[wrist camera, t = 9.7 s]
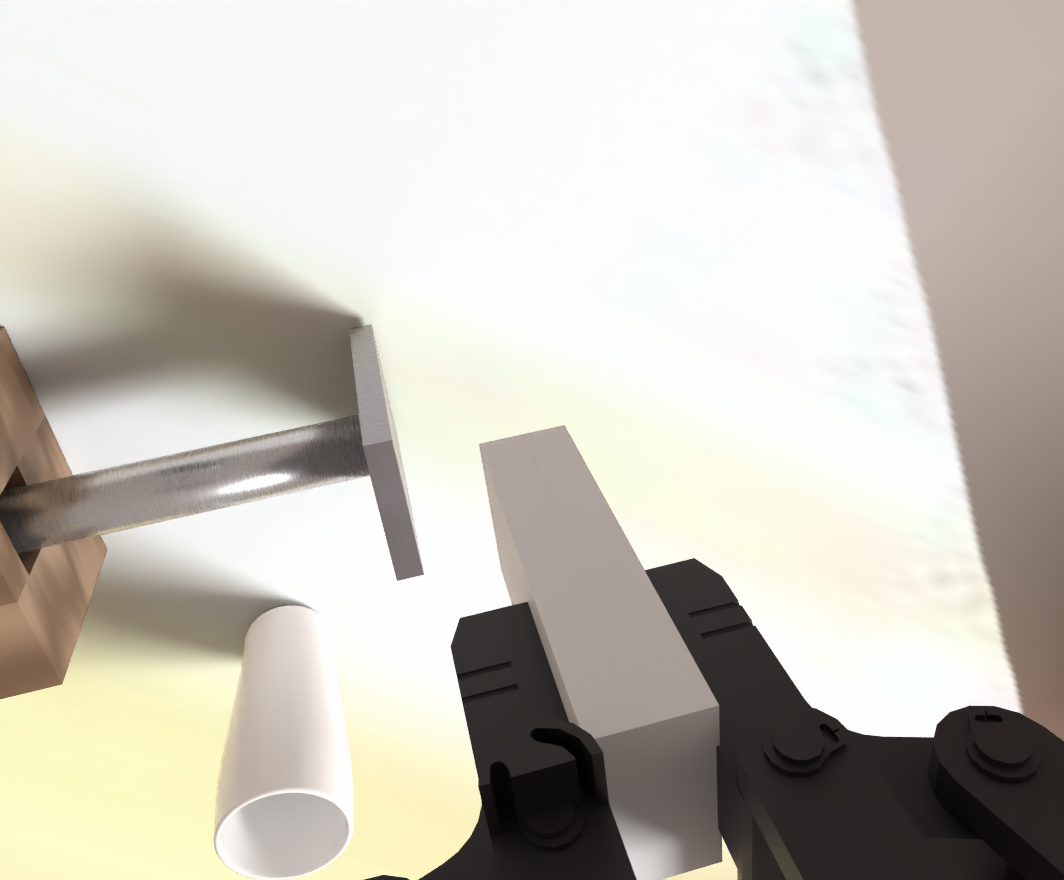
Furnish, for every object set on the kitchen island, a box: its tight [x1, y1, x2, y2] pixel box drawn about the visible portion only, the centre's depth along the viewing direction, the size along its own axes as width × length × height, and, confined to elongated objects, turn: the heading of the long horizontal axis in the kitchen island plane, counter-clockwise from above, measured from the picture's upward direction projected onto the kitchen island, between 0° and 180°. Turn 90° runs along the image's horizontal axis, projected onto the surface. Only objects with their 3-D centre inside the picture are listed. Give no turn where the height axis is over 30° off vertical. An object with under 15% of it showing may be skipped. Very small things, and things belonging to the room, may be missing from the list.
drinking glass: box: [214, 605, 354, 880], centre depth 49 cm, size 7×7×15 cm
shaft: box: [0, 325, 424, 581], centre depth 41 cm, size 7×24×13 cm, turn 97°
